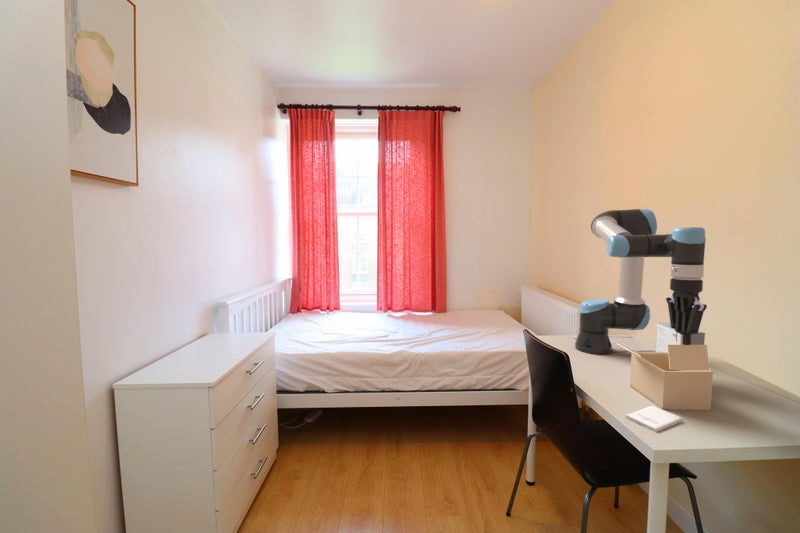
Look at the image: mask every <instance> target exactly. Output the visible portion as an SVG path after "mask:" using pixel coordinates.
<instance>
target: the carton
mask: <svg viewBox="0 0 800 533" xmlns="http://www.w3.org/2000/svg"><path fill="white" fill-rule="evenodd" d="M634 353H636V354H638V355H640V356H642V357H643V358H645V359H646V360H648V361H650V362H651V363H653V364H655V365H656V366H658V367H659V368H658V367H656V366H654V365H652V364H650V363H648V362H647V361H645V360H643V359H641V358H639V357H637V356H636V355H634V354H632V353H630V354H631V358H630V360H631V361H630V382H629V383H630V384H629V386H630V388H632V389H633V390H634V391H636V392H637V393H639V394H640V395H641V396H643V397H644V398H646V399H647V400H649V401H650V402H652V404H654V405H655V406H656V407H657V408H659V409H662V410H670V411H671V410H672V411H673V410H674V411H675V410H676V411H677V410H678V411H679V410H681V411H683V410H684V411H685V410H686V411H687V410H688V411H690V410H691V411H693V410H694V411H711V408H712V394H713V378H714V376H713V375H714V374H713V373H714V372H713V371H712V370H713V369H712V368H710V367H709V369H710V370H670V367H669V357H668V352H656V351H653V352H651V351H650V352H649V351H647V352H645V351H642V352H640V351H639V352H638V351H637V352H636V351H635V352H634Z"/></svg>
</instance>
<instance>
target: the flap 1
mask: <svg viewBox="0 0 800 533" xmlns="http://www.w3.org/2000/svg"><path fill="white" fill-rule="evenodd" d="M615 344H616V345H617V346H619V347H621V348H622V349H624V350H626V351H627V352H629V353H630V354H634V355H636V356H637V357H639V358H641V359H643V360H645V361H647V362H648V363H650V364H652V365H654V366H656V365H655V364H653V363H651V362H650V361H648V360H646V359H645V358H643V357H642V356H640V355H638V354H636V353H635V352H634V351H632V350H631V349H628V348H627V347H625V346H623V345H621V344H619V343H618V342H616V343H615ZM656 367H658V366H656ZM658 368H659V367H658Z"/></svg>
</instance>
